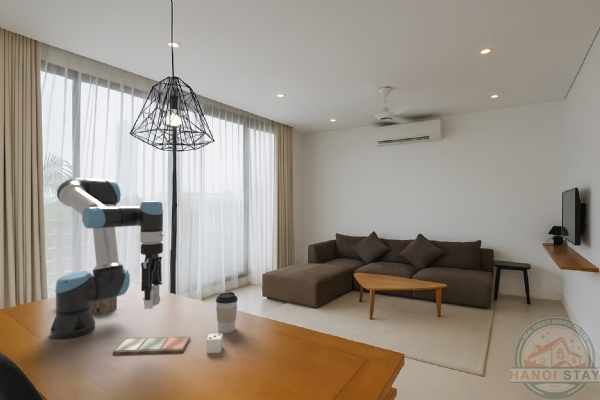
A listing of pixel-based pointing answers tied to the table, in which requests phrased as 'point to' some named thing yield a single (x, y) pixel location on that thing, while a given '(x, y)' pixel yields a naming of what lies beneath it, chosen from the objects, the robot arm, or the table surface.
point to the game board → (152, 345)
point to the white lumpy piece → (155, 296)
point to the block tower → (104, 305)
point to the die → (214, 343)
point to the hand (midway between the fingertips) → (152, 305)
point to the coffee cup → (226, 312)
